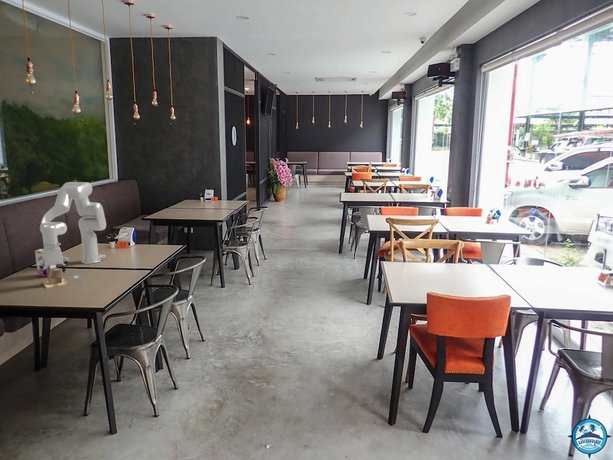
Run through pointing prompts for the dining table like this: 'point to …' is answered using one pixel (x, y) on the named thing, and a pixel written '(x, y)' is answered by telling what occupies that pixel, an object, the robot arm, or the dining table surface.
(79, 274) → the tile
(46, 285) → the cork pad
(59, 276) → the walnut block
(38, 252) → the candy bar box
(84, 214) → the robot arm
